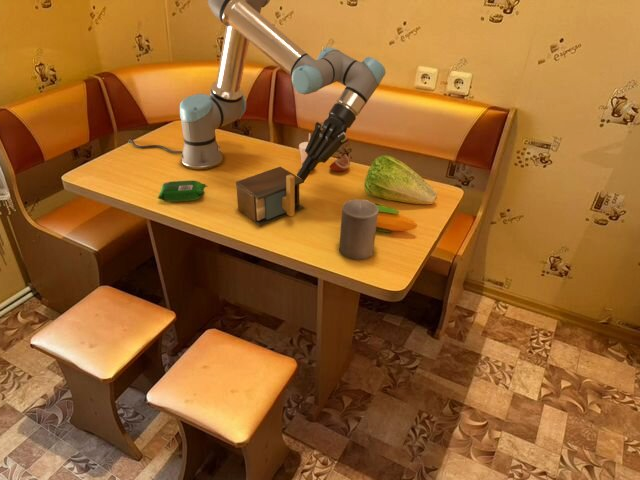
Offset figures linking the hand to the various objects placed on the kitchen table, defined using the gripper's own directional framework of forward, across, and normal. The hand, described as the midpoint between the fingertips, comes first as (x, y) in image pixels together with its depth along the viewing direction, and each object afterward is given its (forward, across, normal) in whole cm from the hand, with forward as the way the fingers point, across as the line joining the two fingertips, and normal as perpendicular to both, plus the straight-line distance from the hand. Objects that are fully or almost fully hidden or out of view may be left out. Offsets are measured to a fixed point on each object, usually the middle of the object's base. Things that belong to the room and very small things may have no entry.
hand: (300, 177), depth 146 cm
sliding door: (+13, +1, -4) cm, 14 cm away
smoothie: (-5, +23, -24) cm, 34 cm away
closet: (+13, +9, -6) cm, 17 cm away
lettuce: (-13, -12, -32) cm, 37 cm away
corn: (-1, -20, -20) cm, 29 cm away
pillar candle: (+8, -24, -10) cm, 28 cm away
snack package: (+26, +33, +7) cm, 43 cm away
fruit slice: (-12, +16, -31) cm, 37 cm away
